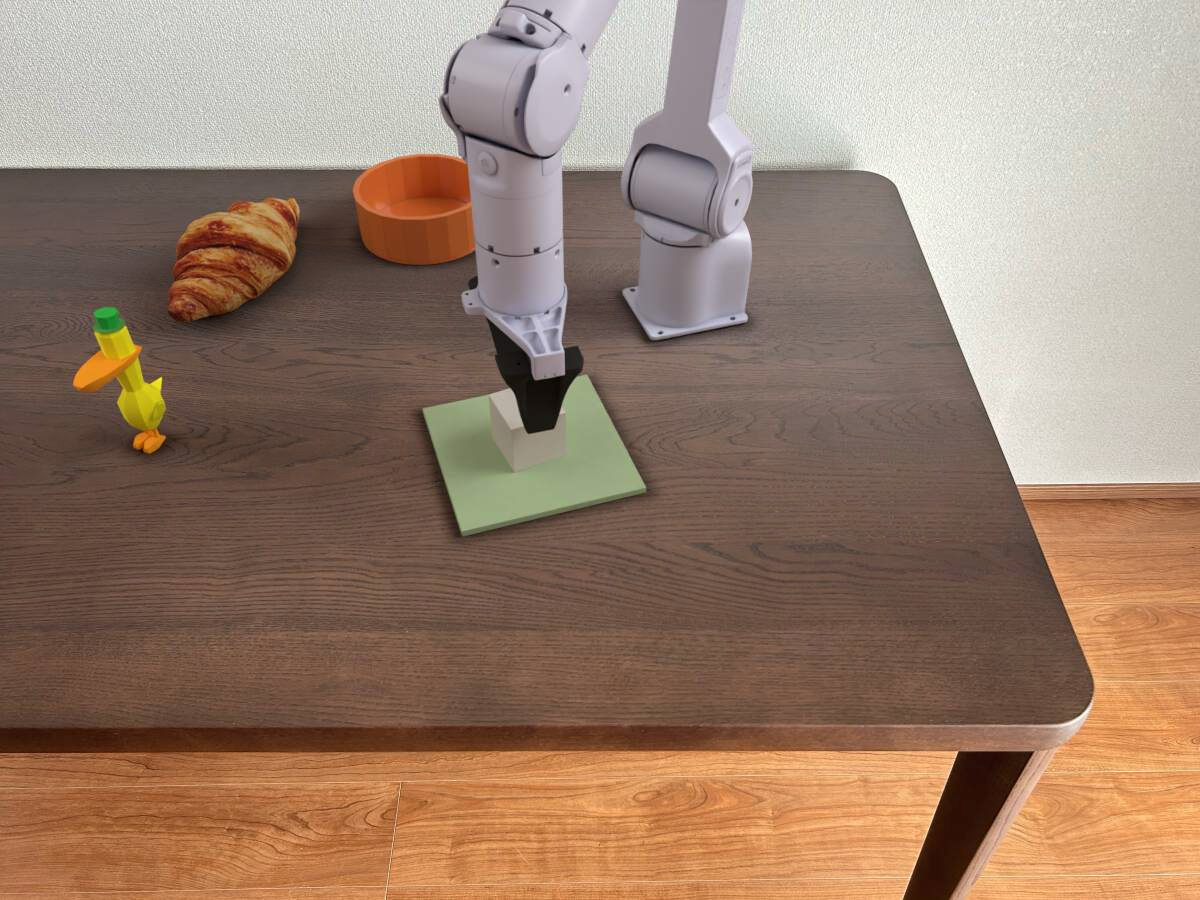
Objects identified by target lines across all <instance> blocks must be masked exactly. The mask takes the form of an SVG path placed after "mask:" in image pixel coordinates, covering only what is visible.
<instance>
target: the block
mask: <svg viewBox="0 0 1200 900" xmlns="http://www.w3.org/2000/svg"><path fill="white" fill-rule="evenodd" d="M488 395H489V407H490V418H491V429H492V438H493V439H494V441H495V443H496V444H497V446H498V448H499V449H500V451H501V452H502V454H503V456H504V457H505V459H506V460H507V462H508V464H509V465H510V467H511V468H512V470H513V472H514V473H515V472H518V471H521V470H524V469H527V468H530V467H533V466H536V465H539V464H542V463H545V462H548V461H551V460H554V459H557V458H560V457H563V456H566V455H567V440H566V412H565V410H564V409H563V407H561V410H560V414H559V417H558V420H557V423H556V426H555V428H554V429H553V430H548V431H543V432H538V433H532V434H527V432H526V430H525V428H524V425H523V423H522V420H521V417H520V413H519V410H518V405H517V401H516V397H515V395H514V393H513V391H512V390H511V388H510V387H508V388H506V389H503V390H499V391H495V392H492V393H489V394H488Z"/></svg>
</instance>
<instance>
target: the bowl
mask: <svg viewBox="0 0 1200 900" xmlns="http://www.w3.org/2000/svg"><path fill="white" fill-rule="evenodd" d="M352 196H353V202H354V207H355V213H356V218H357V223H358V224H357V225H358V230H359V234H360V236H361V241H362V244H363V245H364V247H365V248H366V249H367V250H368V251H370V252H371V253H372V254H373V255H375V256H377V257H379V258H381V259H383V260H386V261H389V262H394V263H397V264H402V265H403V264H404V265H411V266H412V265H414V266H425V265H436V264H443V263H447V262H448V263H449V262H452V261H454V260H458V259H461V258H463V257H466V256H468V255H470V254H472V253H473V252H476V251H475V240H474V230H473V218H472V207H471V196H470V184H469V173H468V164H467V163H466V162H465V161H464V160H463V159H462V157H458V156H453V155H448V154H441V153H416V154H409V155H402V156H396V157H394V158H390V159H387V160H383V161H381V162H378V163H376V164H375V165H373V166H371V167H369V168H367V169H366V170H364V171H363V172H362V173H361V174H360V175H359V176H358V177H357V178H356V179H355V182H354V185H353V188H352Z"/></svg>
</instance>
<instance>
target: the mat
mask: <svg viewBox="0 0 1200 900" xmlns="http://www.w3.org/2000/svg"><path fill="white" fill-rule="evenodd" d="M562 407H563V409H564V410H565V412H566V440H567V455H566V456H563V457H560V458H557V459H554V460H551V461H548V462H545V463H542V464H539V465H536V466H533V467H530V468H527V469H524V470H521V471H518V472H515V473H514V472H513V470H512V468H511V467H510V465H509V464H508V462H507V460H506V459H505V457H504V456H503V454H502V452H501V451H500V449H499V448H498V446H497V444H496V443H495V441H494V439H493V438H492V429H491V418H490V407H489V394H485V395H480V396H475V397H469V398H466V399H465V398H464V399H461V400H456V401H450V402H445V403H440V404H436V405H432V406H427V407H422V414H423V418H424V420H425V424H426V427H427V430H428V433H429V436H430V440H431V442H432V446H433V449H434V452H435V456H436V458H437V462H438V465H439V468H440V471H441V474H442V477H443V480H444V484H445V487H446V490H447V493H448V496H449V500H450V504H451V506H452V509H453V512H454V515H455V518H456V522H457V525H458V529H459V531H460V535H461V538H462V537H469V536H472V535H476V534H480V533H484V532H487V531H492V530H496V529H499V528H504V527H509V526H513V525H517V524H522V523H525V522H526V523H527V522H529V521H534V520H538V519H543V518H546V517H550V516H554V515H558V514H561V513H562V514H563V513H567V512H571V511H574V510H579V509H585V508H588V507H592V506H596V505H600V504H604V503H608V502H614V501H617V500H621V499H625V498H630V497H633V496H638V495H643V494H645V493H646V492H647V486H646V484H645V483H644V481H643V479H642V477H641V475H640V472H639V471H638V469H637V467H636V466H635V463H634V462H633V460H632V458H631V455H630V454H629V451H628V450H627V448H626V447H625V444H624V442H623V440H622V438H621V436H620V435H619V433H618V431H617V429H616V427H615V425H614V423H613V421H612V419H611V418H610V416H609V414H608V412H607V410H606V407H604V404H603V402H602V400H601V397H600V396H599V395H598V393H597V391H596V389H595V387H594V384H593V383H592V381H591V379H590V377H589V376H588V374H582V375H578V376H577V377H576V378H575V379H574V381H573V382H572V384H571V385H570V387H569V389H568V390H567V393H566V395H565V397H564V400H563V403H562Z"/></svg>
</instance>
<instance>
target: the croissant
mask: <svg viewBox="0 0 1200 900" xmlns="http://www.w3.org/2000/svg"><path fill="white" fill-rule="evenodd" d="M300 213H301V210H300V206H299V204H298V203H297V201H296V199H295V198H293V197H291V198H288V199H287V200H285V199H281V198H275V197H267V198H265V199H263V201H261V202H253V201H245V200H243V201H242V200H241V201H238V200H237V201H235V202H233V203H232V204H231V205H230V206H229V207H228V208H227V211H226V212H224V211H223V212H222V211H219V212H214V213H208V214H206V215H203V216H202V217H200V218H199V219H194V220H193V221H192V222H191V223H190V224H188V225H187V228H186V230H185V232H183V234H182V235H181V236H180V238H179V240H178V241H177V245H176V251H175V261H176V262H175V264H174V267H173V269H172V276H173V282H172V284H171V286H170V288H169V290H168V292H167V296H166V297H167V298H166V299H167V303H168V304H167V309H166V312H167V315H168V316H169V318H171V319H173V320H174V322H180V323H181V322H182V323H184V322H186V323H189V322H193V321H197V320H199V319H202V318H208V317H209V316H219V315H220V316H221V315H225V314H227V313H231V312H232V311H233V312H234V311H235V310H238V309H239V308H240V307H241V306H242V305H244V304H245V303H247V302H248V301H251V300H253V299H257V298H258V297H260V296H261V295H262V294H264V293H265V292H266V291H267V290H268V289H269V288H270V287H271V286H272V285H273V284H274V283H275V282H277V281H278V279H280V278H281V277H282V276H283V275H284V274H285V273H287V272H288V270H289V269H290V268H291V266H292V264H293V262H294V259H295V256H296V252H297V247H296V245H295V243H296V240H297V235H298V226H299V223H300V221H299V220H300Z"/></svg>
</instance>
